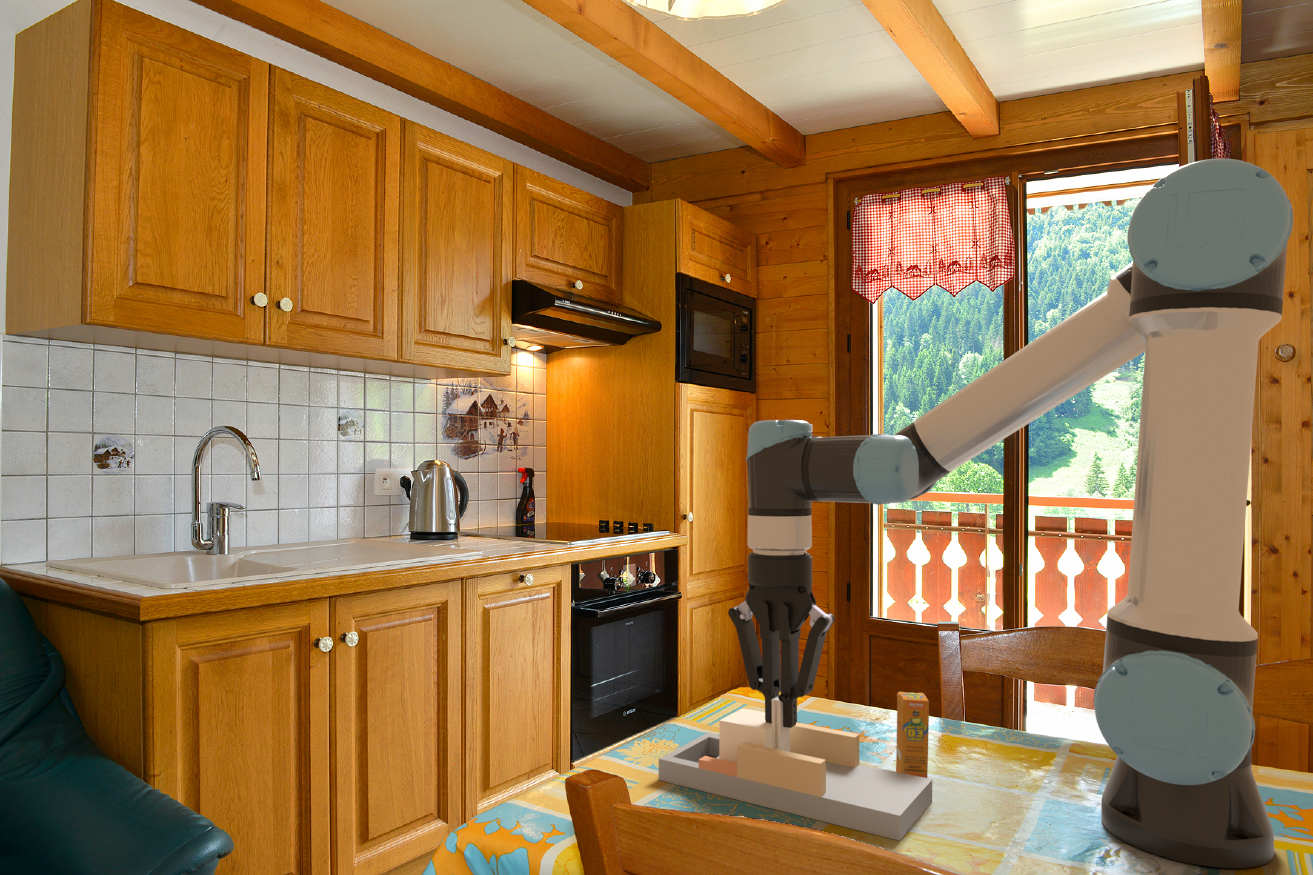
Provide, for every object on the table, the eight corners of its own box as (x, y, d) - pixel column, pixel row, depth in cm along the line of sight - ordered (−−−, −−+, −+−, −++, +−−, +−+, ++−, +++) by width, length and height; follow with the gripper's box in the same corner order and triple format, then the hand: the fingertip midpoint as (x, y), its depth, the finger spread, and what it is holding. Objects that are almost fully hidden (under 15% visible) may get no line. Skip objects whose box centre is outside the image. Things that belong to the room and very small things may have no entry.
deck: (932, 801, 96) (932, 747, 96) (900, 840, 86) (900, 780, 86) (707, 751, 112) (708, 705, 112) (658, 779, 102) (659, 729, 102)
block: (787, 758, 102) (787, 716, 102) (765, 773, 97) (765, 729, 97) (742, 748, 105) (742, 708, 106) (719, 762, 100) (719, 720, 101)
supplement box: (900, 782, 101) (900, 698, 102) (895, 772, 105) (895, 690, 105) (929, 784, 101) (929, 699, 101) (923, 773, 105) (923, 691, 105)
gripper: (842, 551, 100) (844, 754, 99) (746, 546, 107) (747, 735, 106) (818, 557, 94) (820, 773, 93) (717, 551, 101) (718, 752, 100)
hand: (781, 753), depth 99 cm, fingers closed
